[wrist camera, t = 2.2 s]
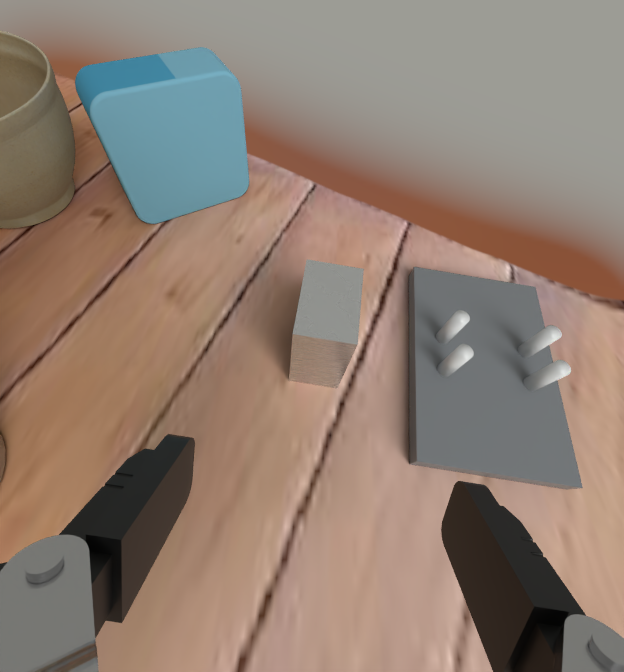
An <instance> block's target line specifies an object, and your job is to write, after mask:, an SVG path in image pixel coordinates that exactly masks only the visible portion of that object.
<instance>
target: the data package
mask: <svg viewBox="0 0 624 672" xmlns="http://www.w3.org/2000/svg"><path fill="white" fill-rule="evenodd" d="M75 85H76V90H77V93H78V95H79V97H80V100H81V102H82V104H83V106H84V108H85V110H86V112H87V114H88V116H89V118H90V120H91V123H92V125H93V127H94V129H95V131H96V133H97V135H98V137H99V139H100V141H101V143H102V146H103V148H104V150H105V152H106V154H107V156H108V158H109V160H110V162H111V164H112V166H113V169H114V171H115V173H116V175H117V177H118V179H119V181H120V183H121V185H122V187H123V189H124V191H125V193H126V195H127V197H128V199H129V201H130V203H131V205H132V207H133V209H134V211H135V213H136V215H137V216H138V218H139V219H140V220H142V221H144V222H146V223H150V224H157V223H161V222H164V221H167V220H170V219H173V218H176V217H179V216H182V215H186V214H189V213H192V212H195V211H198V210H201V209H204V208H207V207H211V206H214V205H217V204H220V203H223V202H226V201H229V200H232V199H236V198H238V197H240V196H242V195H243V194H244V193H245V192H246V191H247V189H248V186H249V173H248V161H247V151H246V139H245V128H244V117H243V105H242V94H241V87H240V84H239V82H238V80H237V78H236V77H235V76H234V75H233V74H232V72H231V71H230V70H229V69H228V68H227V67H226V66H225V65H224V64H223V62H222V61H221V60H220V59H219V58H218V57H217V56H216V55H215V54H214V53H213V52H212V51H211V50H209V49H207V48H203V47H200V48H193V49H187V50H180V51H174V52H168V53H162V54H155V55H149V56H143V57H136V58H130V59H124V60H117V61H111V62H105V63H99V64H92V65H88V66H85V67H83V68H82V69H81V70H80V71H79V72H78V74H77V76H76V80H75Z"/></svg>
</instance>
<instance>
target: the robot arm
mask: <svg viewBox="0 0 624 672" xmlns="http://www.w3.org/2000/svg"><path fill="white" fill-rule="evenodd" d="M194 447H195V441H194V438H190V437H184V436H177V435H171V434H168V435H166V436H165V437H164V439H163V440H162V441H161V442H160V444H159V445H158V446H157V447H156V449H155V450H150V449H144V450H142V451H140V452H138V453H137V454H135V455H133V456H132V457H130V458H128V459H127V460H126V461H125V462H124V464H123V465H122V466H121V467H120V468H119V469H118V470H117V471H116V473H115V475H113V476H112V477H111V478H110V479H109V480H108V481H107V482H106V483H105V486H104V487H102V488H101V489H100V490H99V491H98V492H97V493H96V494H95V496H94V497H93V498H92V499H91V500H90V501H89V502H88V503H87V504H86V505H85V507H84V508H83V509H82V510H81V511H80V512H79V513H78V514H77V515H76V517H75V518H74V519H73V520H72V521H71V522H70V523H69V524H68V525H67V526H66V528H65V529H64V530H63V531H62V532H61V533H60V534H59V535H57V536H52V537H48V538H45V539H42V540H39V541H37V542H35V543H33V544H31V545H29V546H28V547H26V548H24V549H23V550H21V551H20V552H18V553H17V554H16V555H15V556H14V557H12V558H11V559H10V560H9V561H8V562H6V563H1V564H0V672H98V659H97V648H96V642H95V638H96V636H97V635H98V633H99V631H100V629H101V628H102V626H103V624H104V622H105V621H112V622H119V623H122V622H123V620H124V618H125V616H126V614H127V613H128V611H129V609H130V607H131V605H132V603H133V601H134V599H135V598H136V596H137V594H138V592H139V590H140V588H141V586H142V584H143V582H144V581H145V579H146V577H147V575H148V573H149V571H150V569H151V567H152V566H153V564H154V562H155V560H156V558H157V556H158V554H159V552H160V550H161V549H162V547H163V545H164V543H165V541H166V539H167V537H168V535H169V534H170V532H171V530H172V528H173V526H174V524H175V522H176V520H177V518H178V517H179V515H180V513H181V511H182V509H183V507H184V505H185V503H186V501H187V499H188V496H189V493H190V490H191V485H192V477H193V462H194ZM4 467H5V445H4V442H3V438H2V436H1V434H0V481H1V479H2V476H3V471H4ZM441 531H442V540H443V544H444V547H445V549H446V552H447V554H448V557H449V560H450V562H451V565H452V567H453V570H454V572H455V575H456V577H457V580H458V583H459V585H460V588H461V590H462V593H463V595H464V598H465V600H466V603H467V606H468V608H469V611H470V613H471V616H472V618H473V621H474V623H475V626H476V629H477V631H478V634H479V636H480V639H481V641H482V644H483V647H484V649H485V652H486V654H487V657H488V659H489V662H490V664H491V667H492V670H493V672H624V639H623V638H622V637H621V636H620V635H619V634H617V633H616V632H615V631H614V630H612V629H611V628H609V627H608V626H606V625H605V624H603V623H601V622H599V621H598V620H595V619H593V618H591V617H588V616H586V615H585V613H584V612H583V610H582V609H581V608H580V606H579V605H578V603H577V602H576V600H575V599H574V598H573V596H572V595H571V593H570V592H569V590H568V589H567V587H566V586H565V585H564V583H563V582H562V580H561V579H560V577H559V576H558V575H557V573H556V572H555V570H554V569H553V567H552V566H551V565H550V563H549V562H548V560H547V559H546V558H545V557H543V553H542V552H541V550H540V549H539V547H538V546H537V544H536V543H535V542H533V539H532V537H531V536H530V534H529V533H528V532H527V530H526V529H525V527H524V526H523V524H522V523H521V522H520V521H519V520H518V519H517V518H516V517H515V516H514V515H513V514H512V513H510V512H509V511H508V510H507V509H506V508H505V507H504V506H500V505H499V504H498V502H497V501H496V499H495V498H494V496H493V495H492V493H491V492H490V490H489V489H488V488H487V487H486V486H485V485H481V484H475V483H468V482H462V481H458V482H456V483H455V485H454V488H453V491H452V494H451V497H450V500H449V503H448V506H447V509H446V512H445V515H444V518H443V521H442V529H441Z"/></svg>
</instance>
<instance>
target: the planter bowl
mask: <svg viewBox="0 0 624 672" xmlns="http://www.w3.org/2000/svg"><path fill="white" fill-rule="evenodd" d="M74 164H75V141H74V133H73V128H72V123H71V119H70V116H69V113H68V110H67V107H66V104H65V101H64V99H63V96H62V94H61V92H60V90H59V88H58V85H57V83H56V79H55V75H54V72H53V69H52V67H51V64H50V63H49V60H48V58H47V57H46V55H45V54H44V53H43V52H42V51H41V50H40V49H39V48H38V47H37V46H36V45H34V44H33V43H31V42H30V41H28V40H25V39H24V38H21V37H19V36H16V35H14V34H11V33H8V32H3V31H0V228H21V227H27V226H31V225H35V224H38V223H41V222H44V221H46V220H48V219H50V218H52V217H54V216H55V215H57V214H58V213H60V212H61V211H62V210H63V209H64V208H65V207H66V206H67V205H68V204H69V203H70V201H71V199H72V198H73V195H74V190H75V185H74V181H73V178H72V175H73V171H74Z"/></svg>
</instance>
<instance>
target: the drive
mask: <svg viewBox="0 0 624 672" xmlns="http://www.w3.org/2000/svg"><path fill="white" fill-rule="evenodd" d="M363 270H364V269H361V268H355V267H349V266H343V265H337V264H331V263H325V262H319V261H313V260H307V261H306V267H305V272H304V277H303V282H302V288H301V293H300V298H299V303H298V308H297V314H296V319H295V324H294V329H293V335H292V348H291V362H290V375H289V381H294V382H300V383H306V384H312V385H318V386H325V387H331V388H338V386H339V384H340V381H341V379H342V377H343V375H344V373H345V371H346V368H347V366H348V364H349V362H350V360H351V358H352V355H353V353H354V351H355V349H356V347H357V344H358V332H359V319H360V307H361V295H362V282H363Z"/></svg>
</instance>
